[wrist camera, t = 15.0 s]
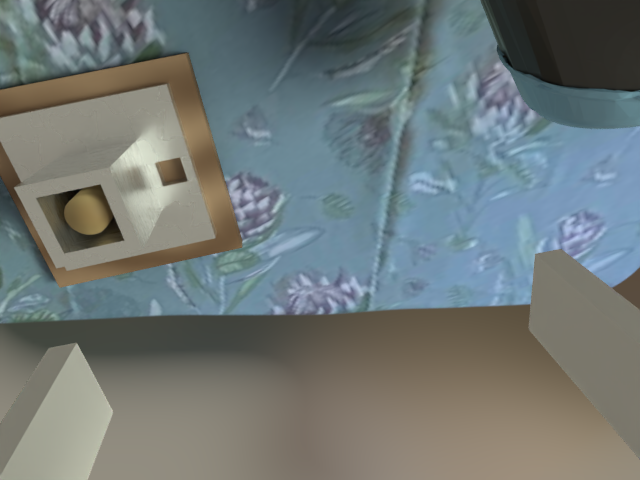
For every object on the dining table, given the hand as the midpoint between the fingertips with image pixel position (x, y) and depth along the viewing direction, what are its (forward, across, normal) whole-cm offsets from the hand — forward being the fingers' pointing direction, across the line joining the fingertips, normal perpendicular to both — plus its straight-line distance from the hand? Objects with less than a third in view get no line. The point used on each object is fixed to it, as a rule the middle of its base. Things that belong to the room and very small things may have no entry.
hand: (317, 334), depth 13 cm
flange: (+29, +15, +2) cm, 33 cm away
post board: (+30, +15, +2) cm, 34 cm away
